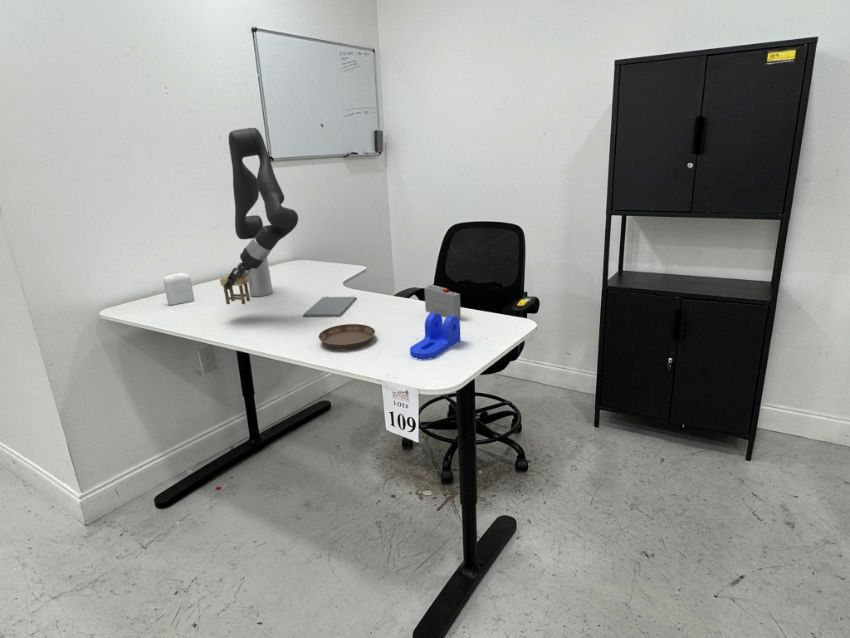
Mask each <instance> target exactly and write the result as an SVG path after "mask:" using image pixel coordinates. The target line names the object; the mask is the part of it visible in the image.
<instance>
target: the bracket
mask: <svg viewBox="0 0 850 638" xmlns="http://www.w3.org/2000/svg"><path fill="white" fill-rule="evenodd" d="M460 340H461V321H460V319H459V318H458V317H456V316H450V315H449V316H447V317H446V318H445V317H444V320H443V317H442V316H441V315H440V314H437V313H428V315H427V316H426V318H425V321H424V337H423V339H421V340H420V341H418V342H416V343H415V344H413V345H412V346H410V348H409V353H410V354H409V355H411V356H412V357H414V358H417V359H428V360H430V359H429V358H433V357H435V358H436V356H437V355H438V356H440V355H441V354H443V353H444V352H446V351H447V350H449V349H450V348H452V347H454V346H455V345H456V343H457V342H458V343H459V341H460ZM460 342H461V341H460ZM458 343H457V344H458ZM454 344H455V345H454ZM451 346H452V347H451ZM449 347H450V348H449ZM448 348H449V349H448ZM446 349H447V350H446ZM445 350H446V351H445ZM443 351H444V352H443ZM442 352H443V353H442ZM440 353H441V354H440ZM439 354H440V355H439ZM411 356H410V357H411ZM438 356H437V357H438ZM412 357H411V358H412ZM414 358H413V359H414ZM417 359H416V360H417ZM433 359H434V358H433Z"/></svg>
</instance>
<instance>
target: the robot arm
mask: <svg viewBox="0 0 850 638" xmlns="http://www.w3.org/2000/svg"><path fill="white" fill-rule="evenodd" d="M228 148H229V153H230V158H231V159H230V160H231V166H232V167H231V168H232V186H233V199H234V213H235V215H234V228H235V229H234V230H235V234H236V236H237V238H238V239H239V240H250V241H249V243H248V244H247V245H246V247H244V248H243V249H242V252H241V253H240V255H239V258H240V260H241V262H239V263H238V264H237V266H236V267H234V268H232V271H231V272H230V273H229V274H228V275H229V276H228V275H227V276H228V277H227V279H228V281H227V282H226V284H225V285H224V287H226V288H227V290H228V291H230V290H229V289H230V288H231V287H233V284H234V283H235V282H236V281H237V280H238V279H240V278H242V277H243V275H248V280H249V282H247V285H248V291H249V296H250V297H264V296H269V295H271V294H273V286H272V280H271V278H272V277H271V273H270V267H269V262H268V257H269V255H270V254H271V252H272V250H273V249H274V248H275V246H276V245H277V244H278V243H279V241H280V240H281V239H283V238H285V237H286V236H287V235H289V234H290V233H291V232H292V231H294V229H295V228H296V226H297V225H298V222H299V215H298V213H297V211H296V210H294V209H292V208H288V207H285V206H282V204H283V203H284V202H285V195H284V192H283V190H282V188H281V186H280V184H279V182H278V180H277V178H276V174H275V172H274V170H273V169H274V168H273V166H272V162H271V158H270V155H269V152H268V149H267V147H266V143H265V141H264V138H263V136H262V133H261V132H260V130H259V129H258V128H256V127H248V128H241V129H239V128H238V129H234V130H231V131H230V132H229V133H228ZM254 156H258V158H259V159H258V160H259V167H258V171H257V176H256V175H255V174H254V173H253V172H252V171H251V170H250V168H248V167H247V166H246V164H245V163H244V162H243V159H244V158H249V157H254ZM260 196H261V198H262V200H263V202H264V209H265V216H266V219H267V220H268V222H269V225H268V224H267V225H264V223H263V220H262V218H261V216H259V214H257V215H248V213H249V212H250V210H251V209H252V208H254V206H255V205H256V203H257V202H258V199H259V197H260ZM239 275H241V276H239Z"/></svg>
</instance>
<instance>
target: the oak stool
mask: <svg viewBox="0 0 850 638" xmlns="http://www.w3.org/2000/svg"><path fill="white" fill-rule="evenodd" d="M229 275H230V274H228V275H225V276H223V277H222V278H220V279H219V282H220V286H222V287H223V293H224V298H225V302H226V305H230V304H231V302H235V301H236V300H237V301H240V300H241V304H242V305H245V304H246V302H250V301H251V298H250V297H251V296H250V290H249V284H248V282H249V280H248V275H243V277H242V278H240V279H238V280H237V281H236V282H235V283H234V284H233V286H234V287H235V286H238V289H239V293H240V294H237V293H236V294H235V293H234V289H233V288H234V287H233V286H232V287H231V288H230V289H229V290H228V289H227V288H226V287H224V285H225V284H226V282H227V281H228V279H227V277H228V276H229ZM239 276H241V275H239ZM229 294H230V295H229ZM230 300H231V301H230Z"/></svg>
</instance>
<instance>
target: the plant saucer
mask: <svg viewBox="0 0 850 638" xmlns="http://www.w3.org/2000/svg"><path fill="white" fill-rule="evenodd" d="M375 334H376V330H375V328H374V327H372V326H370V325H367V324H360V323H348V324H339V325H335V326H331V327H328V328H326V329H324V330H322V331H321V332H320V333H319V334H318V339H319V340H320V341H321V343H322V344H323V345H325V346H326V347H327V348H329V349H331V348H332V350H337V349H348V350H354V349H358V348H361V346H362V347H363V345H364V346H366V345H368V344H369V343H370V341H371V340H372V339H373V338H374V337H375ZM365 344H366V345H365ZM353 348H354V349H353Z"/></svg>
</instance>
